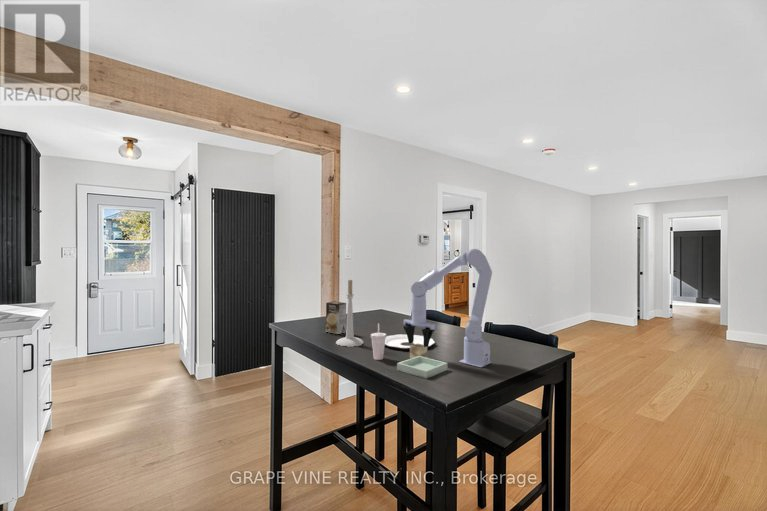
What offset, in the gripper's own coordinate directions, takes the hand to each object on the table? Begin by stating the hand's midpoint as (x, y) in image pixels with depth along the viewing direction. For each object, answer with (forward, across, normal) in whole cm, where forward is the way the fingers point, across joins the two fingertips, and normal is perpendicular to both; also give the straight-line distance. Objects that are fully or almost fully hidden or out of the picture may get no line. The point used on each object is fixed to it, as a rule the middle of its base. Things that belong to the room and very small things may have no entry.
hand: (418, 344), depth 143 cm
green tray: (+5, -10, +11) cm, 16 cm away
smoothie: (+6, +11, +12) cm, 17 cm away
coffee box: (+6, +58, -5) cm, 58 cm away
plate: (+6, +17, -14) cm, 23 cm away
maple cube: (+6, 0, 0) cm, 6 cm away
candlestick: (+6, +37, +4) cm, 38 cm away
